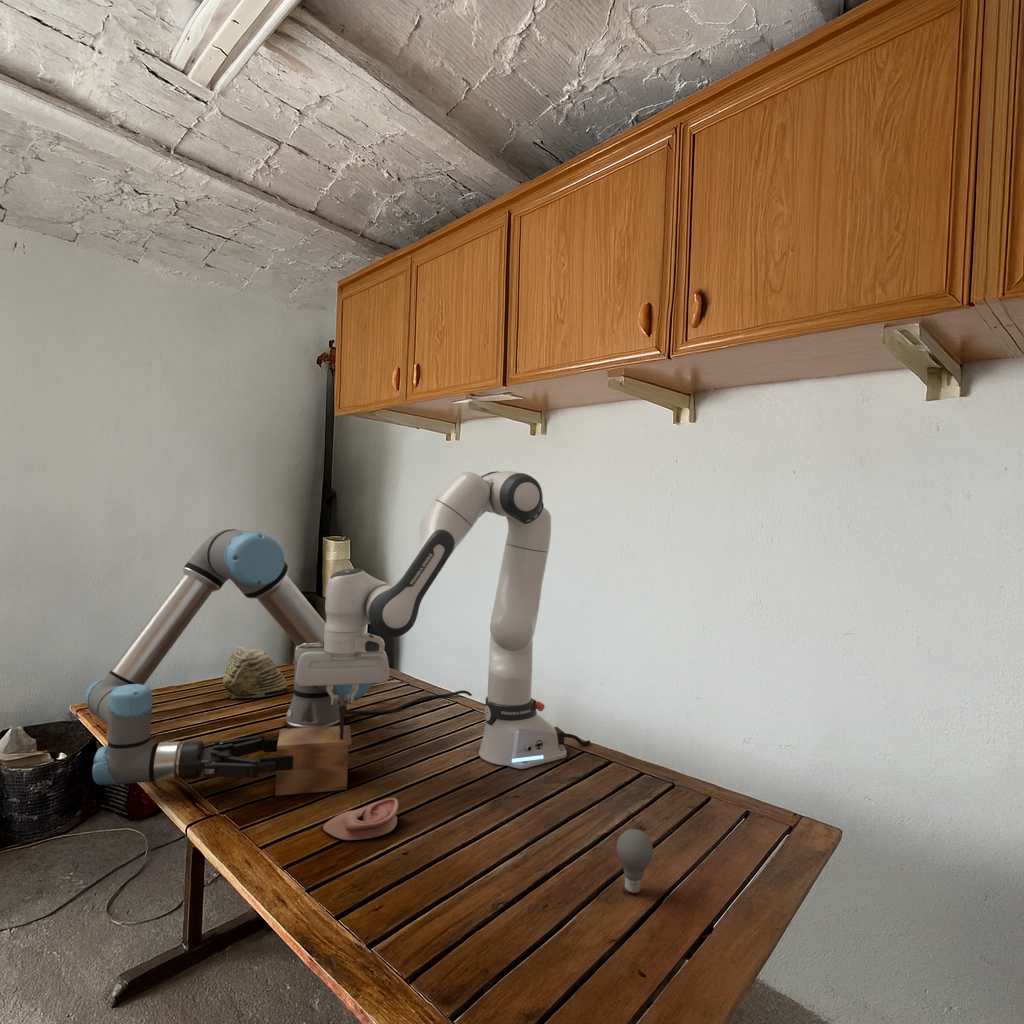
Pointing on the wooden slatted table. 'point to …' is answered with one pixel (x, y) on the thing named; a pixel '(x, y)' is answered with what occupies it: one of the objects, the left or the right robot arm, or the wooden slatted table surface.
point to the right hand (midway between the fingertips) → (342, 703)
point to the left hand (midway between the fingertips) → (294, 752)
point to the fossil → (252, 674)
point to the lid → (317, 733)
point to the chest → (313, 770)
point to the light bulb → (634, 857)
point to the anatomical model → (364, 821)
